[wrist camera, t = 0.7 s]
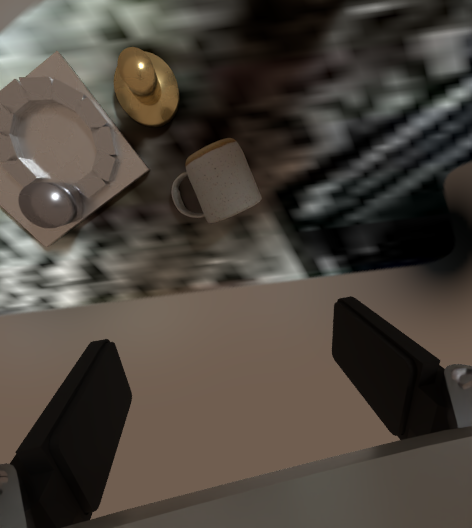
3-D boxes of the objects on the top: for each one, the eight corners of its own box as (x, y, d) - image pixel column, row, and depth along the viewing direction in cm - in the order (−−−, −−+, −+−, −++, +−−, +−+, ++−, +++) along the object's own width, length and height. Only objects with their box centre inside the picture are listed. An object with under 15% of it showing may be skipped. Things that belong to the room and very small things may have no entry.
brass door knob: (152, 44, 27) (139, 1, 20) (191, 105, 29) (189, 83, 23) (105, 83, 27) (77, 52, 21) (146, 139, 29) (133, 126, 23)
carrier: (63, 56, 26) (34, 29, 21) (150, 170, 30) (142, 167, 26) (-51, 149, 27) (-101, 142, 22) (51, 245, 32) (26, 255, 27)
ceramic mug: (231, 140, 31) (241, 127, 24) (255, 197, 34) (269, 201, 27) (160, 175, 31) (148, 172, 24) (190, 229, 34) (187, 242, 27)
